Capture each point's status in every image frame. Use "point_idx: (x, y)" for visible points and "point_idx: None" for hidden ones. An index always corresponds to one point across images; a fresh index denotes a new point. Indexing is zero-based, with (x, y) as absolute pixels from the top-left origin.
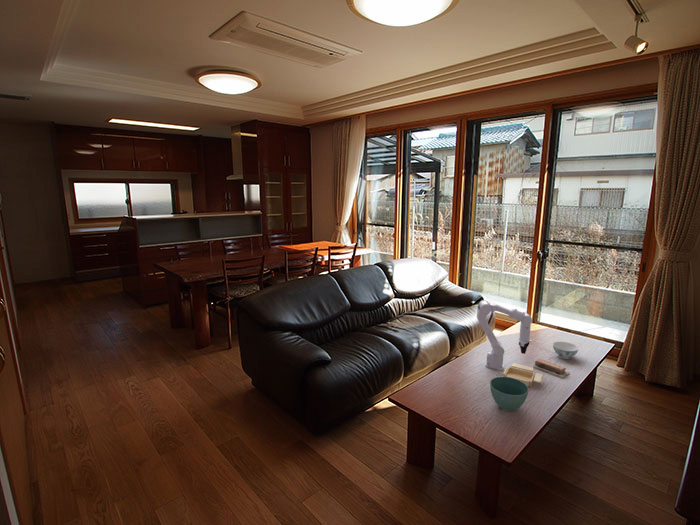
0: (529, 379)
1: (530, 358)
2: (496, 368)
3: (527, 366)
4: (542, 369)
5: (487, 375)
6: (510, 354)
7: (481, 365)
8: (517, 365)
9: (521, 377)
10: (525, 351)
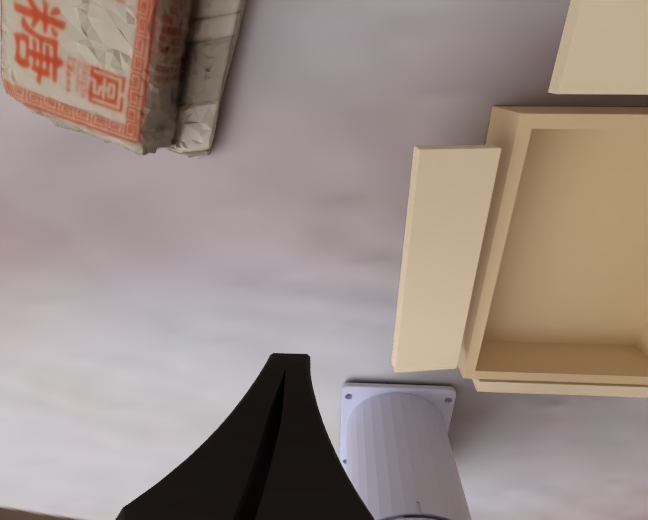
0: (578, 150)
1: (4, 209)
2: (446, 422)
3: (414, 225)
4: (231, 37)
5: (582, 446)
6: (75, 370)
7: None
8: (429, 322)
9: (555, 231)
10: (312, 388)
